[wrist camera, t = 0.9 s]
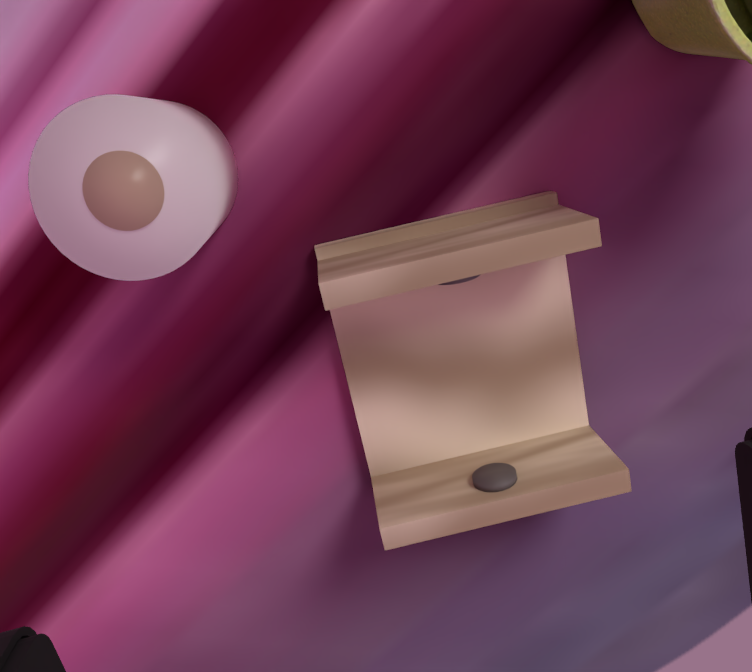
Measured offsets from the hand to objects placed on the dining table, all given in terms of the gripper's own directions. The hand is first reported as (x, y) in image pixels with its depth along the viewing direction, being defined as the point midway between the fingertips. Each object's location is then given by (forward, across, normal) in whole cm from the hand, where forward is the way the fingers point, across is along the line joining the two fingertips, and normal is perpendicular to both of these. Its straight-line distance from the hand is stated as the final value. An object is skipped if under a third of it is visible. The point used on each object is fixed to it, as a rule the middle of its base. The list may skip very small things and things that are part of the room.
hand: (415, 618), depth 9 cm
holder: (+21, -4, +4) cm, 22 cm away
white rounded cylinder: (+21, +6, -6) cm, 23 cm away
